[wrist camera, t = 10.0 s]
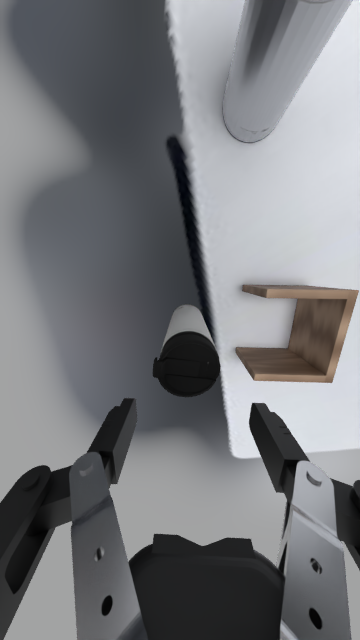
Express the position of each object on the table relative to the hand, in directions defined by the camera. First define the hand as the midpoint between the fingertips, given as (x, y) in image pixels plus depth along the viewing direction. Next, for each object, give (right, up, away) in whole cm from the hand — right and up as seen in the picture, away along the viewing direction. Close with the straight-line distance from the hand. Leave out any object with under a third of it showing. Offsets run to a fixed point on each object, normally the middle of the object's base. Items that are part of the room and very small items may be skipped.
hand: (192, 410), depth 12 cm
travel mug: (0, +7, +23) cm, 24 cm away
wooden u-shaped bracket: (+17, +6, +23) cm, 29 cm away
